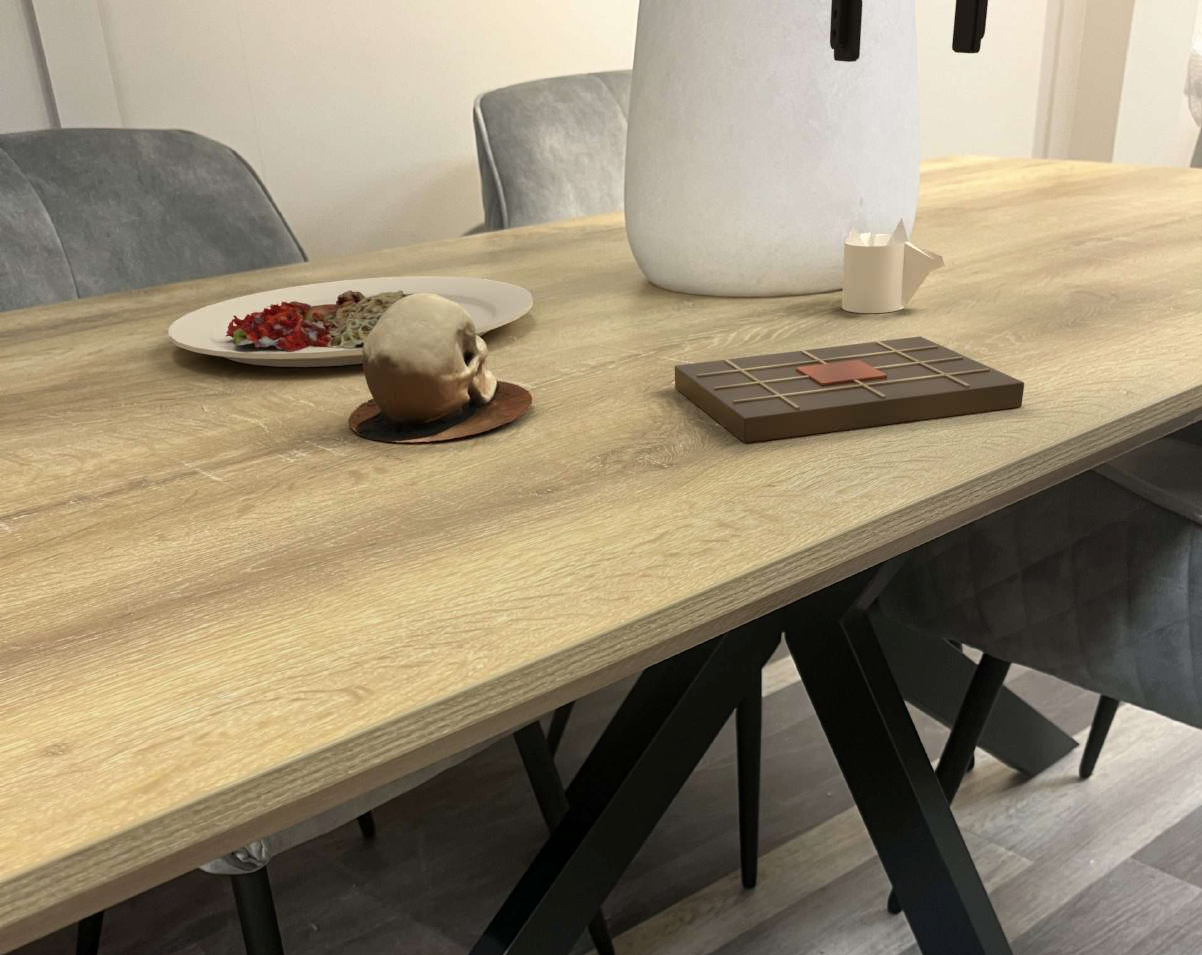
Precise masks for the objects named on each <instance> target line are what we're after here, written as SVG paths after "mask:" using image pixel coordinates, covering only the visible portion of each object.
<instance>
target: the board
mask: <svg viewBox="0 0 1202 955" xmlns="http://www.w3.org/2000/svg"><path fill="white" fill-rule="evenodd" d="M674 388H675V389H676V390H677V391H678V392H680V393H681V394H682V395H683V396H685V397H686V398H688V399H689V400H690V401H691V402H692V403H693V404H695V405H696V406H697V407H698V408H700V409H701V410H702V411H704V412H705V413H706V414H707V415H709V416H710V417H711V418H712V419H713V420H715V421H716V422H717V423H719V424H720V425H721V426H722V427H724V428H725V429H726V430H728V431H729V432H730V433H732V435H734V436H735V437H736V438H738V439H739V440H740V441H741V442H743V443H744V444H750V443H757V442H767V441H773V440H781V439H789V438H796V437H803V436H804V437H805V436H811V435H818V434H824V433H825V434H826V433H834V432H843V431H848V430H855V429H863V428H872V427H879V426H886V425H894V424H901V423H909V422H918V421H923V420H932V419H939V418H947V417H954V416H962V415H969V414H977V413H984V412H992V411H1000V410H1008V409H1014V408H1021V407H1022V406H1023V400H1024V399H1023V398H1024V389H1025V382H1024V381H1022V380H1020V379H1018V378H1015V377H1013V376H1011V375H1009V374H1006V373H1004V372H1002V371H1000V370H997V369H996V368H993V367H990V366H989V365H986V364H985V363H981V362H979V361H977V360H975V359H972V358H970V357H968V356H966V355H963V354H961V353H959V352H957V351H954V350H952V349H950V348H948V347H945V346H943V345H941V344H938V343H936V342H934V341H932V340H929V339H928V338H925V337H923V336H912V337H903V338H902V337H901V338H895V339H887V340H878V341H877V340H876V341H869V342H861V343H853V344H846V345H836V346H828V347H820V348H812V349H804V350H803V349H801V350H795V351H786V352H779V353H770V354H761V355H753V356H744V357H736V358H735V357H734V358H728V359H721V360H720V359H719V360H712V361H711V360H710V361H704V362H695V363H686V364H678V365H674Z"/></svg>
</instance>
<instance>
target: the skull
mask: <svg viewBox="0 0 1202 955" xmlns="http://www.w3.org/2000/svg"><path fill="white" fill-rule="evenodd" d="M487 346H488V345H487V344H486V342H485V341H484V339H482V337H481V336H480V337H479V336H477V335H476V330H475V324H474V321H473V319H472V317H471V316H470V315H469V314H468V312H466V310H464V309H463V308H462V307H461V306H460V305H458V304H457V303H455V302H453V301H451V300H448V299H446V298H444V297H441V296H438V295H436V294H429V293H419V294H413V295H409V296H407V297H404V298H402V299H400V300H398V301H396V302H395V303H394V304H392V305H391V306H390V307H389V308H388V309H387V310H386V312H385V313H384V314H383V315H382V316H381V318H380V319H379V320H378V322H377V323H376V325H375V326H374V328H373V329H372V331H371V332H370V333H369V335H368V337H367V339H366V341H365V344H364V346H363V351H362V352H363V364H362V370H363V374H364V378H365V383H366V385H367V388H368V391H369V393H370V395H371V397H372V398H371V399H368V400H367V401H363V402H362V403H360V405H358V406H356V407H355V409H354V410H353V411H352V412H351V413H350V416H349V418H348V425H349V428H351V430H352V432H356V434H357V435H358V436H360V437H363V438H365V439H366V440H368V439H369V440H372V441H380V442H381V441H382V442H396V443H422V442H425V443H428V442H436V441H446V440H451V439H455V438H462V437H466V436H471V435H477V434H479V433H480V434H481V433H483V432H487V431H491V429H495V428H498V427H500V426H501V425H503V426H504V425H506V424H507V423H511V422H513V421H514V420H516V419H517V418H519V417H520V416H522V415H523V414H525V412H527V411H528V410H529V408H530V407H531V405H532V403H533V396H532V394H531V393H530V391H529V390H528V389H526V388H524V387H522V386H520V385H518V384H516V383H515V384H514V383H513V382H507V381H501V380H497V379H496V377H495V376H494V374H493V373H492V372H491V371H490V370H489V368H488V362H487V358H488V355H489V350H488V347H487Z"/></svg>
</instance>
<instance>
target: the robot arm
mask: <svg viewBox="0 0 1202 955" xmlns="http://www.w3.org/2000/svg"><path fill="white" fill-rule="evenodd" d="M988 5H989V0H955V6H954V7H955V8H954V18H953V19H954V20H953V31H952V42H951V49H952V51H953V52H954V53H958V54H979V52H980V50H981V45H982V40H983V39H984V36H985V33H986V27H987V26H986V25H987V17H988V7H989V6H988ZM830 7H831V8H830V27H829V28H830V29H829V30H830V32H829V45H830V48H831V49H832V50H833V60H834V61H836V62H844V63H845V62H846V63H847V62H848V63H852V62H857V61H858V60H860V54H861V36H862V20H863V18H862V17H863V0H831V4H830Z"/></svg>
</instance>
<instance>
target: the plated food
mask: <svg viewBox="0 0 1202 955" xmlns="http://www.w3.org/2000/svg"><path fill="white" fill-rule="evenodd" d="M419 293H429V294H436V295H438V296H441V297H444V298H446V299H448V300H451V301H453V302H455V303H457V304H458V305H460V306H461V307H462V308H463V309H464V310H466V312H468V314H469V315H470V316H471V317H472V319H473V321H474V324H475V330H476V335H477V336H479V337H480V338H481V337H482V336H484V335H485V334H487V333H488V332H490V331H491V330H494V329H497V328H500V327H503V326H504V325H507V324H510V323H512V322H515V321H517V320H519V319H520V318H521V317H523V316H525V315H526V314H528V313H529V312H530V310H531V309H532V308H533V306H534V299H533V295H532V292H530V291H528V290H527V289H526V288H525V287H522V286H519V285H516V284H513V283H510V282H505V281H500V280H494V279H490V278H489V279H486V278H479V277H467V276H446V275H445V276H444V275H443V276H442V275H421V276H420V275H410V276H409V275H408V276H386V277H385V276H384V277H382V276H381V277H369V278H357V279H356V278H355V279H345V280H344V279H343V280H335V281H325V282H318V283H316V282H315V283H310V284H303V285H296V286H295V285H294V286H289V287H283V288H277V289H272V290H265V291H261V292H256V293H252V294H246V295H242V296H239V297H234V298H229V299H226V300H223V301H221V302H216V303H213V304H210V305H206V306H204V307H201V308H198V309H196V310H193V311H191V312H188V313H186V314H184V315H183V316H182V317H179V318H178V319H176V320H174V322H173V323H171V325H170V326H169V327H168V337H169V341H170V342H171V343H174V345H176V346H177V347H179V348H181V349H184V350H187V351H190V352H193V353H196V354H197V353H198V354H203V355H204V354H205V355H209V356H215V357H223V358H225V359H228V360H230V361H233V362H237V363H243V364H248V365H255V366H264V367H265V366H267V367H276V368H277V367H278V368H279V367H283V368H313V367H314V368H315V367H336V366H337V367H339V366H349V365H351V366H352V365H363V352H362V351H363V346H364V344H365V341H366V339H367V337H368V335H369V333H370V332H371V331H372V329H373V328H374V326H375V325H376V323H377V322H378V320H379V319H380V318H381V316H382V315H383V314H384V313H385V312H386V310H387V309H388V308H389V307H390V306H391V305H392V304H394V303H395V302H396V301H398V300H400V299H402V298H404V297H407V296H409V295H413V294H419Z"/></svg>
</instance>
